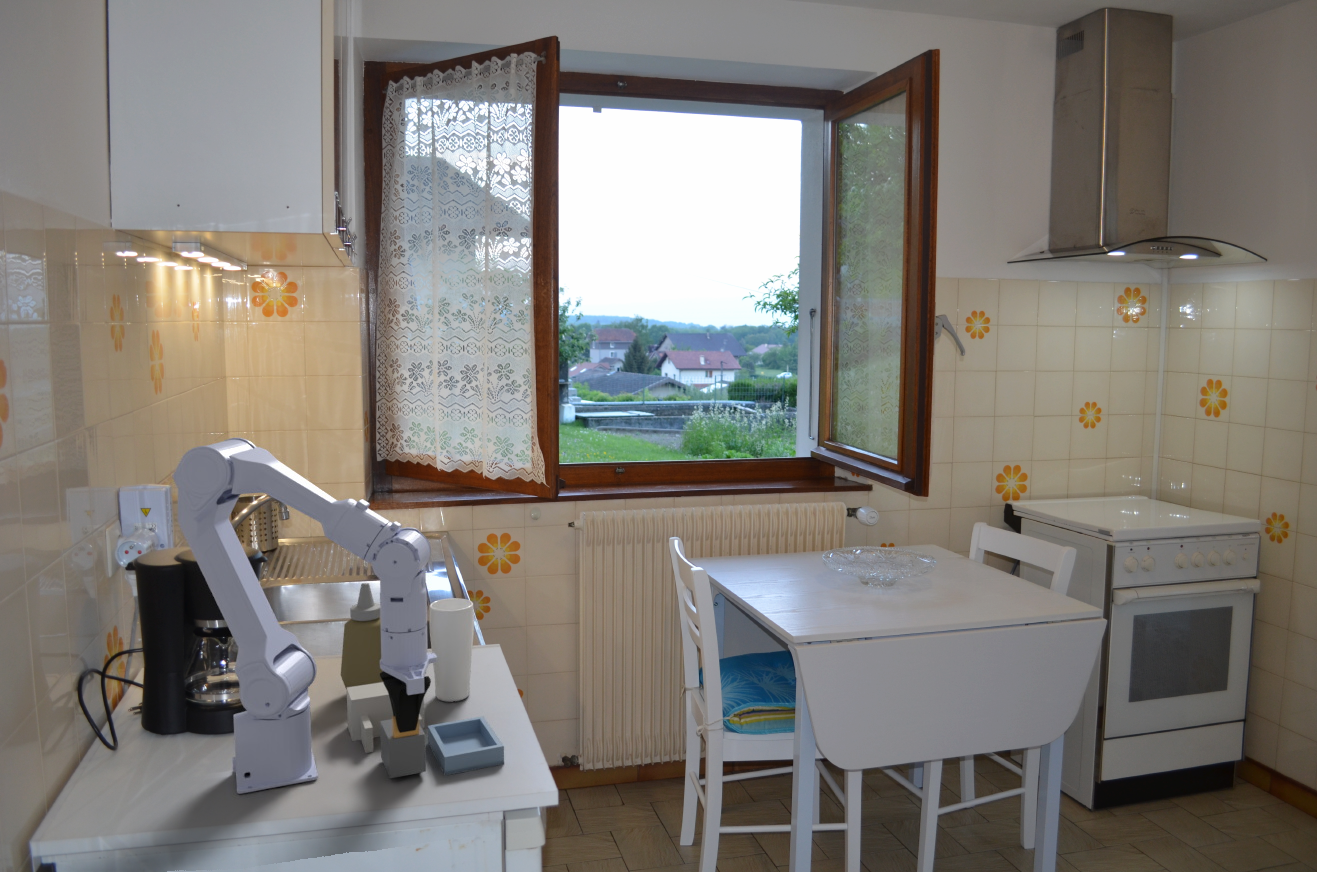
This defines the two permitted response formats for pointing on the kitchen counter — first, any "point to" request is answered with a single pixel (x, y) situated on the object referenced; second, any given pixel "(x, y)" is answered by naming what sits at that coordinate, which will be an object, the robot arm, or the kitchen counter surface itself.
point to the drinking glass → (452, 647)
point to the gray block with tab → (402, 749)
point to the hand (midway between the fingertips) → (406, 727)
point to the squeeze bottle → (362, 642)
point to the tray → (465, 745)
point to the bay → (370, 712)
